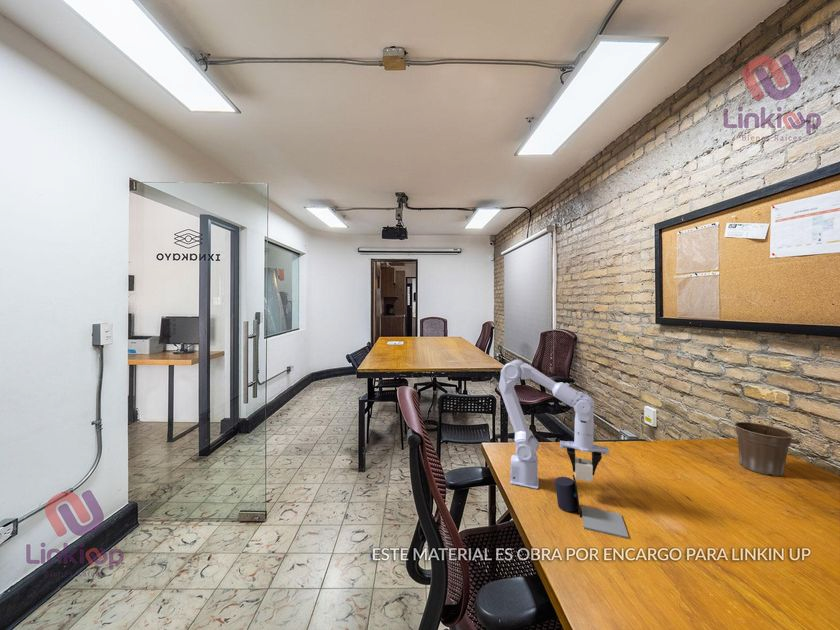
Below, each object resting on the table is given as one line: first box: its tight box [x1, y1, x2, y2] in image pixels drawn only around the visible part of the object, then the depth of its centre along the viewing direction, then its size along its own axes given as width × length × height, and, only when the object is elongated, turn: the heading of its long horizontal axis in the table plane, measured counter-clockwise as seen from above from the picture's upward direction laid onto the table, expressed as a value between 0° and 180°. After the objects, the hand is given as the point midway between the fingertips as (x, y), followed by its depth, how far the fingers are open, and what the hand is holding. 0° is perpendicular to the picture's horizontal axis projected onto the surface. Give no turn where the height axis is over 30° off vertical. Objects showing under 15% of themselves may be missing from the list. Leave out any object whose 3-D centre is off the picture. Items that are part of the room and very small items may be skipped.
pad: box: [580, 505, 630, 539], centre depth 97 cm, size 11×11×1 cm
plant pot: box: [734, 421, 795, 477], centre depth 130 cm, size 16×16×16 cm
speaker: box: [554, 474, 582, 518], centre depth 104 cm, size 8×6×10 cm
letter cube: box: [574, 456, 594, 483], centre depth 110 cm, size 5×5×5 cm
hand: (583, 472), depth 110 cm, fingers closed on letter cube, 5 cm apart
